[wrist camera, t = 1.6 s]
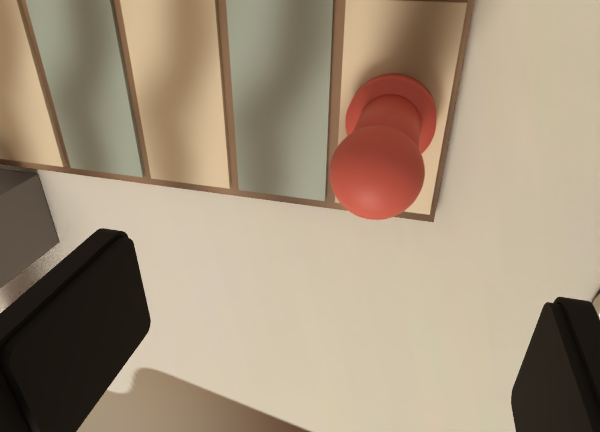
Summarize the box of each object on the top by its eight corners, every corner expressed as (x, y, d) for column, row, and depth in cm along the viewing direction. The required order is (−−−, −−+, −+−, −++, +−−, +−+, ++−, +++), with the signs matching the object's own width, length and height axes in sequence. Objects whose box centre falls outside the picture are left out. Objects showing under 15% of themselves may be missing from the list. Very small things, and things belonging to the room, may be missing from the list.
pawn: (443, 76, 22) (446, 141, 14) (429, 161, 24) (425, 254, 17) (351, 70, 23) (310, 128, 15) (346, 152, 25) (308, 237, 18)
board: (475, -15, 21) (477, -12, 20) (433, 213, 27) (433, 224, 26) (-53, -28, 27) (-73, -27, 26) (10, 158, 33) (-4, 165, 32)
